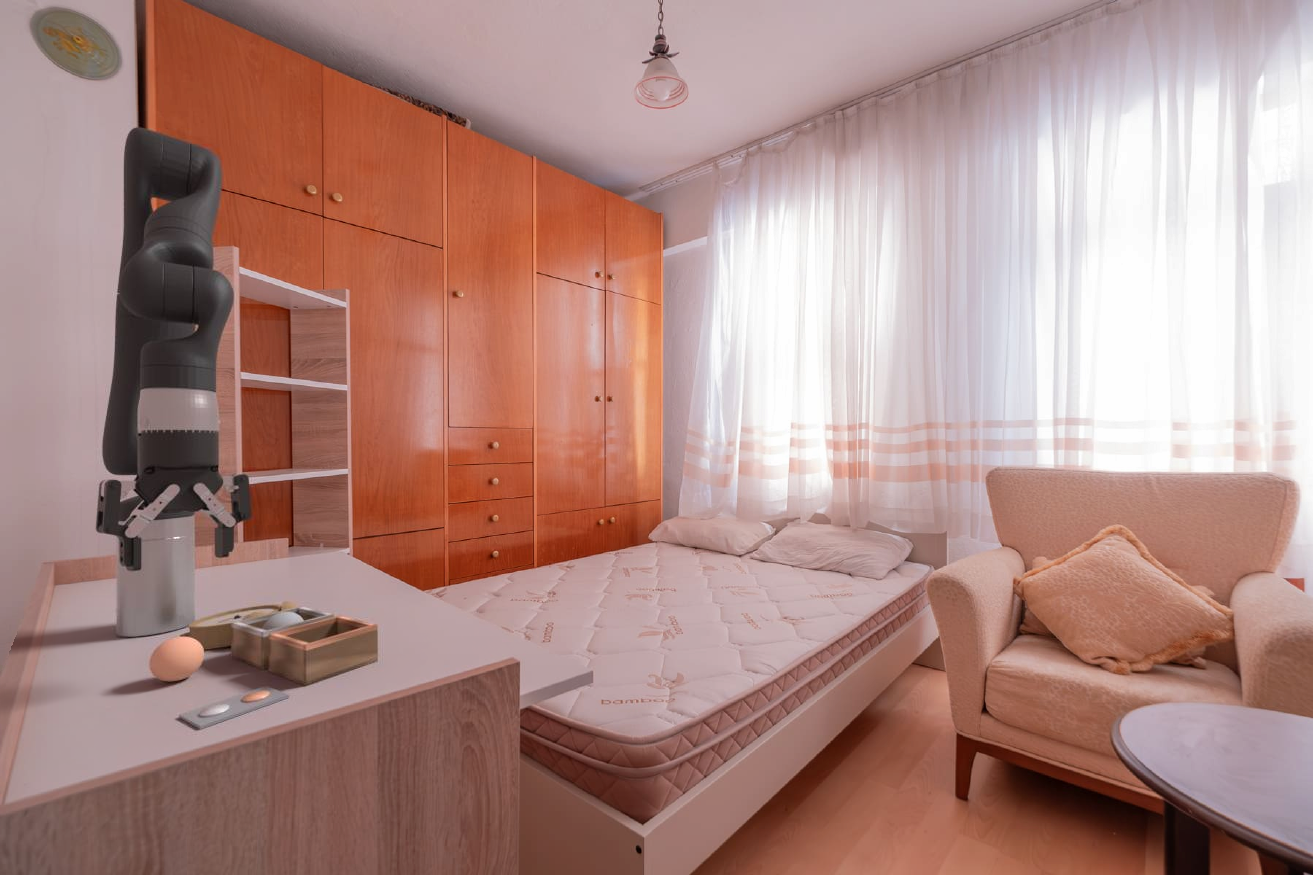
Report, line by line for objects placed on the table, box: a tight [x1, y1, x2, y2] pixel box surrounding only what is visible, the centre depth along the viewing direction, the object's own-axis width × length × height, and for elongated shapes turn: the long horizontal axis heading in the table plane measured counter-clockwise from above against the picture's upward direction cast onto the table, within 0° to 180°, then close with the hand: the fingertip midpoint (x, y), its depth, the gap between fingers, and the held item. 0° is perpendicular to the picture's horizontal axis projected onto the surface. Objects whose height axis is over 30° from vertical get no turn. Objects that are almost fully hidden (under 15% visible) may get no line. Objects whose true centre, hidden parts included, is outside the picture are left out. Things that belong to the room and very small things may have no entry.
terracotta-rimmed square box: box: [268, 615, 379, 687], centre depth 71 cm, size 9×9×5 cm
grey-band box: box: [230, 606, 335, 670], centre depth 76 cm, size 9×9×5 cm
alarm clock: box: [179, 600, 299, 650], centre depth 83 cm, size 11×5×15 cm
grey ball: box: [262, 612, 304, 630], centre depth 76 cm, size 5×5×5 cm
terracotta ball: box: [148, 636, 205, 683], centre depth 67 cm, size 5×5×5 cm
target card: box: [178, 685, 290, 730], centre depth 60 cm, size 5×8×1 cm, turn 149°
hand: (179, 563), depth 68 cm, fingers open, 8 cm apart
